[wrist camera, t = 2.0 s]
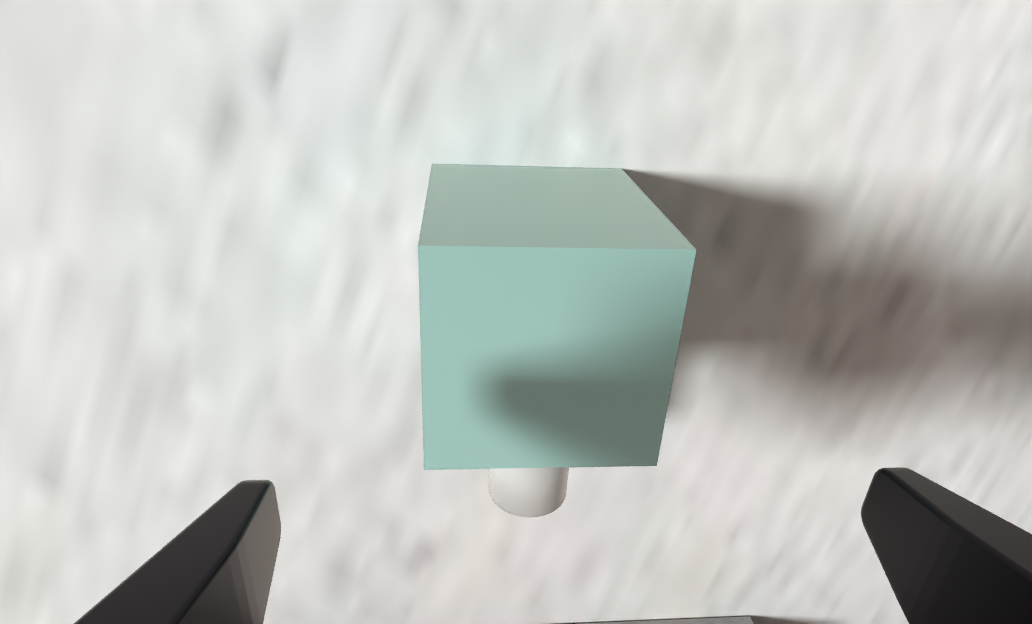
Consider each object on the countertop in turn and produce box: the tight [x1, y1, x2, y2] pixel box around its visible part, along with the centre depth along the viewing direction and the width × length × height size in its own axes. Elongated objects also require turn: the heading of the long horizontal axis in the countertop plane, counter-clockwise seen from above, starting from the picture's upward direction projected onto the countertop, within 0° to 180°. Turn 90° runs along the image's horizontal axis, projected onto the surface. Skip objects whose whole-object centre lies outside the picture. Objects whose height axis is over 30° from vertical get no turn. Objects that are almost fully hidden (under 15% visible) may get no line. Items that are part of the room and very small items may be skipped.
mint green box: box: [418, 164, 696, 517], centre depth 16 cm, size 5×7×6 cm
